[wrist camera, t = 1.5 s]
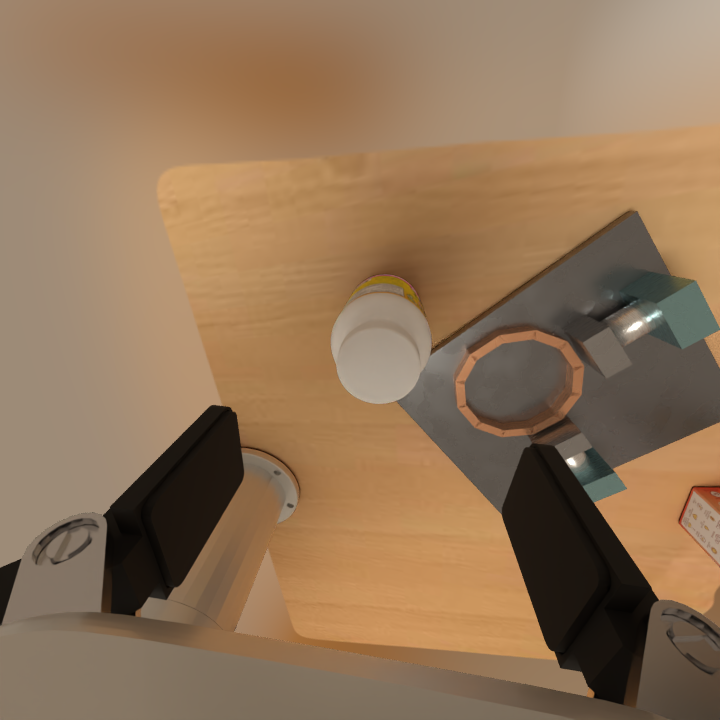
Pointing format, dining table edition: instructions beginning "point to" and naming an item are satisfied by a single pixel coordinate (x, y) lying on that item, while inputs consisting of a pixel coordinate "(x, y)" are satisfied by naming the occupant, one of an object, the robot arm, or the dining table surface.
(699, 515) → the cracker box
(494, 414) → the base
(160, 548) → the robot arm
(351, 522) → the dining table surface
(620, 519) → the dining table surface
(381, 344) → the supplement bottle
